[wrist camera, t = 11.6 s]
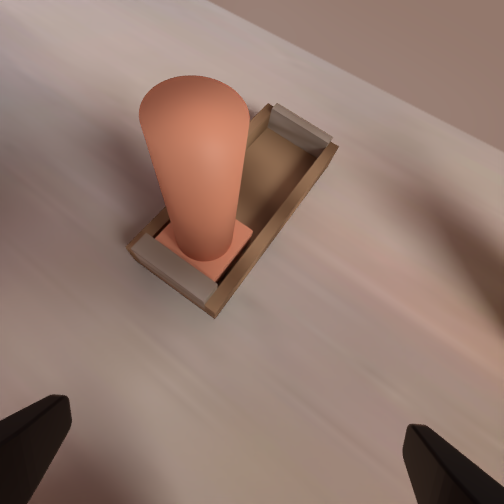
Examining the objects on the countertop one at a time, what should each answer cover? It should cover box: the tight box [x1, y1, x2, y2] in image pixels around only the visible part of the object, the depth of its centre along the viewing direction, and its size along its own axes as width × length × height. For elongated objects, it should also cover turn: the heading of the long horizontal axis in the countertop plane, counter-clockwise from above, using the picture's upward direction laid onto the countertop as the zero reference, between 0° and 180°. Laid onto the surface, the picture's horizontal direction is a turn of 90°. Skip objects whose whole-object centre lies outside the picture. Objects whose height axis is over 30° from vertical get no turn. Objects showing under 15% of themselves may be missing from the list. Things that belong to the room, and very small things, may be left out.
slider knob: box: [139, 76, 253, 283], centre depth 15 cm, size 4×5×11 cm
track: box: [126, 103, 339, 319], centre depth 21 cm, size 16×7×4 cm, turn 145°
